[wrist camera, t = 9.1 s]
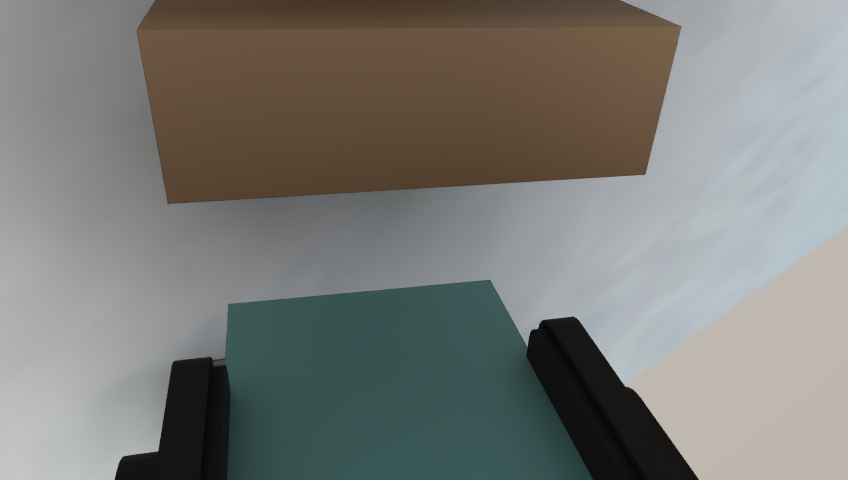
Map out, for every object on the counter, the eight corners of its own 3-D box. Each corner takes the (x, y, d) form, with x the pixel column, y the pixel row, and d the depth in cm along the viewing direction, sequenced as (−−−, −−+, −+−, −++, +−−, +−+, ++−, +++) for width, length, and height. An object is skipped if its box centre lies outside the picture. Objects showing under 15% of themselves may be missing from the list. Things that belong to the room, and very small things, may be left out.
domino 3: (208, -84, 14) (136, 29, 5) (437, -77, 15) (681, 25, 6) (216, -4, 14) (168, 203, 6) (434, -3, 15) (645, 175, 7)
